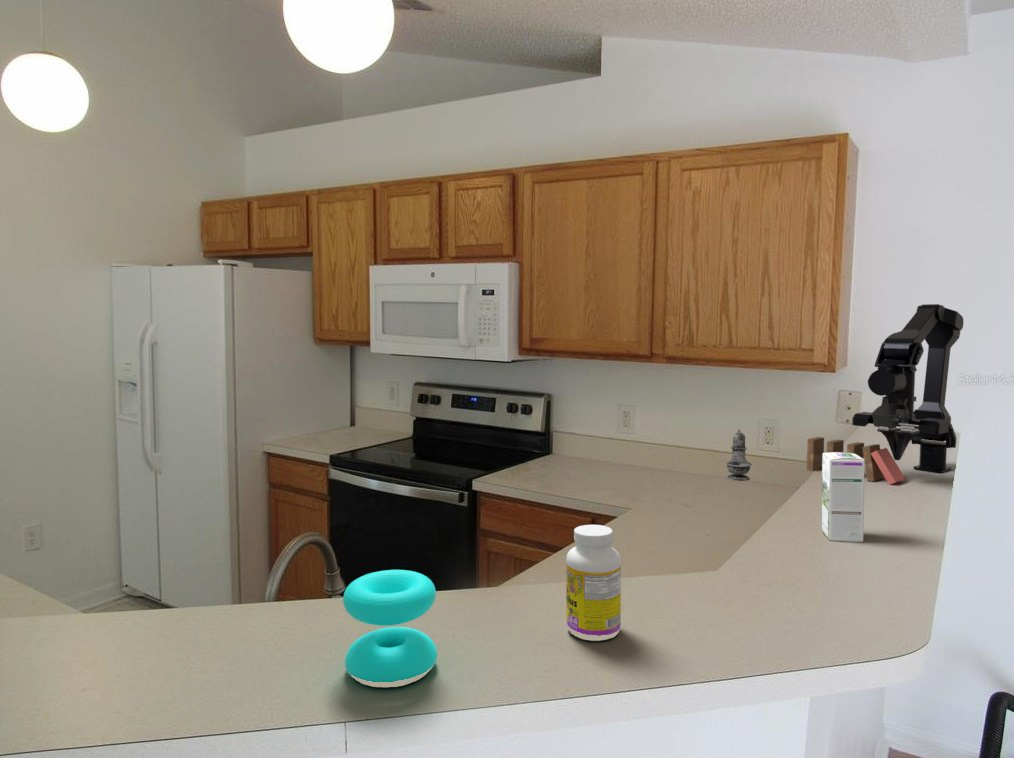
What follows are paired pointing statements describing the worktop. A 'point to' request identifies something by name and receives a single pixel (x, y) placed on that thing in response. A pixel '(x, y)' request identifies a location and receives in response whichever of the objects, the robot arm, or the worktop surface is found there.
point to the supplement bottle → (593, 582)
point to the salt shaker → (738, 459)
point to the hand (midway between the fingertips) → (897, 459)
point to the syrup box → (843, 496)
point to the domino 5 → (888, 466)
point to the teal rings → (390, 604)
